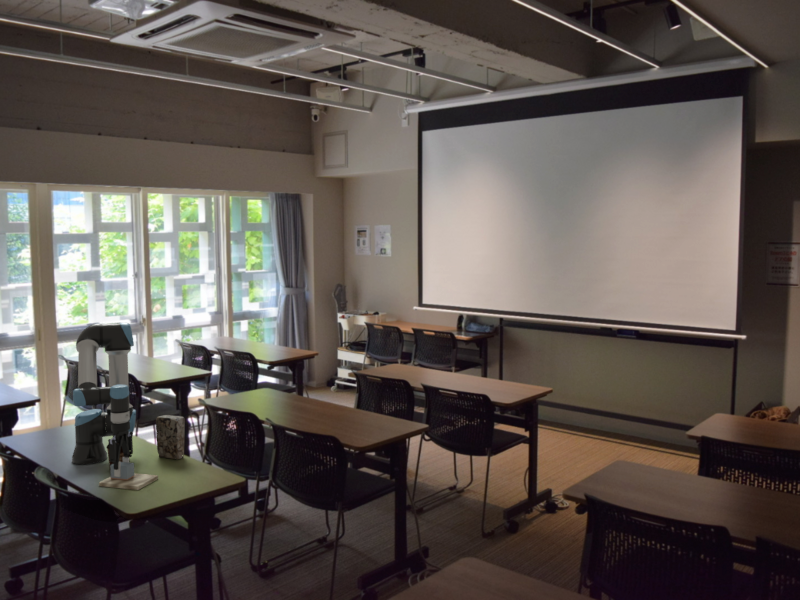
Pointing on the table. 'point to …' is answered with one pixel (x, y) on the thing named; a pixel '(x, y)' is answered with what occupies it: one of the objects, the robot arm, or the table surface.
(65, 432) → the table surface
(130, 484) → the board
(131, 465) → the block
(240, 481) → the table surface
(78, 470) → the table surface
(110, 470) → the coffee cup
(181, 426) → the stone block
